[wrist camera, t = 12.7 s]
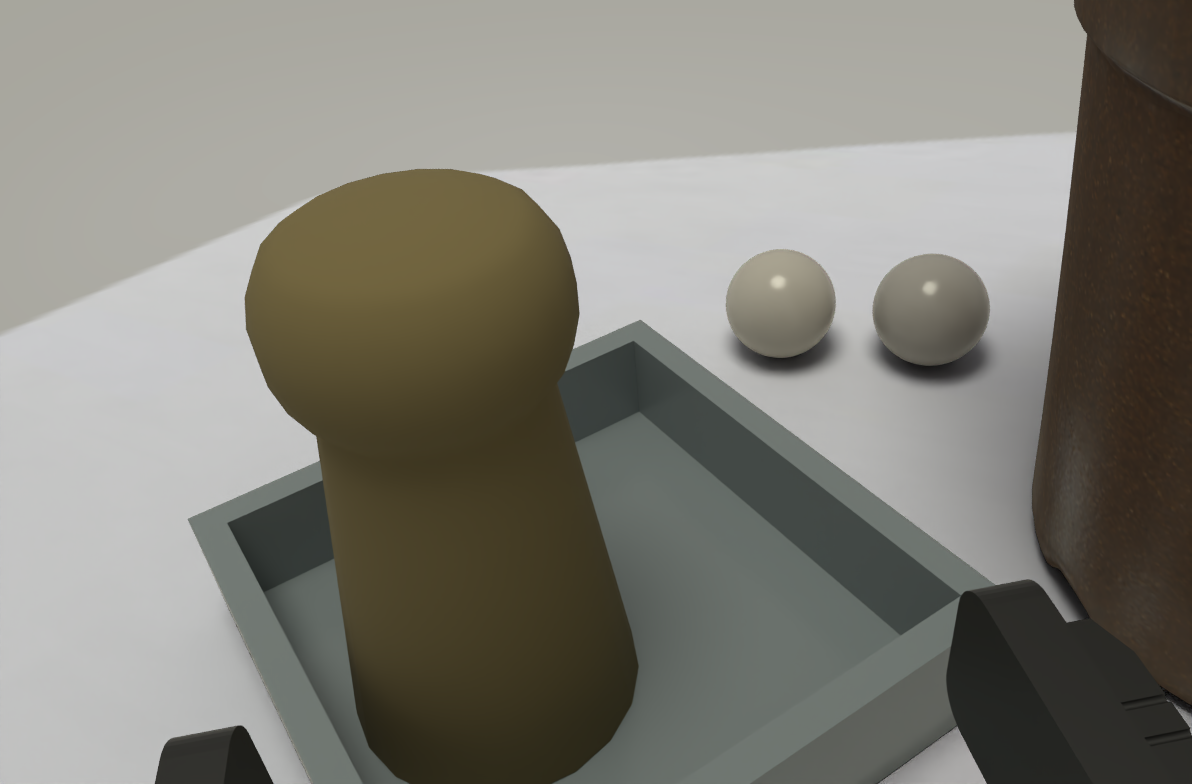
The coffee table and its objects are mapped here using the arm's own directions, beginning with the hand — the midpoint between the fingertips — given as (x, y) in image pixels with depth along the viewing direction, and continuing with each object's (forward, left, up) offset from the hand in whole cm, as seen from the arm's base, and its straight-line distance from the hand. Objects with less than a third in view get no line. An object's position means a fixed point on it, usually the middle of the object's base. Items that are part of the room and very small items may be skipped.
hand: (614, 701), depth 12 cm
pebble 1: (-13, +14, -9) cm, 21 cm away
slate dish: (-7, +3, -9) cm, 12 cm away
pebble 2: (-10, +17, -9) cm, 22 cm away
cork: (-7, +1, -8) cm, 11 cm away
